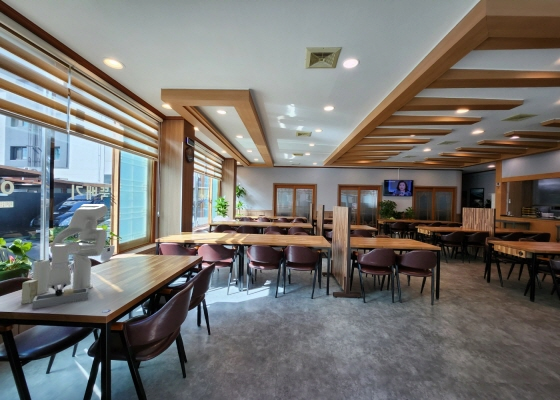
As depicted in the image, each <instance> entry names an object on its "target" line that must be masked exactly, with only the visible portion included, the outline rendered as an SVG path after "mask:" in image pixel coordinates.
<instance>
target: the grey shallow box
mask: <svg viewBox="0 0 560 400" xmlns="http://www.w3.org/2000/svg"><path fill="white" fill-rule="evenodd" d="M63 292H64V291H62V295H61V296H58V297H57V295H56V296H55V292H53V293H52V292H51V293H44V294H39V295H37V296H35V298H34V300H33V302H32V307H31V309H32V310H35V309H39V308H40V309H41V308H42V309H43V308H47V307H52V306H57V305H62V304H69V303H73V302H74V303H76V302H80V301H85V300H88V299H89V289H88V288H83V289H77V290H74V294H70V295H64V296H63Z"/></svg>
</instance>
